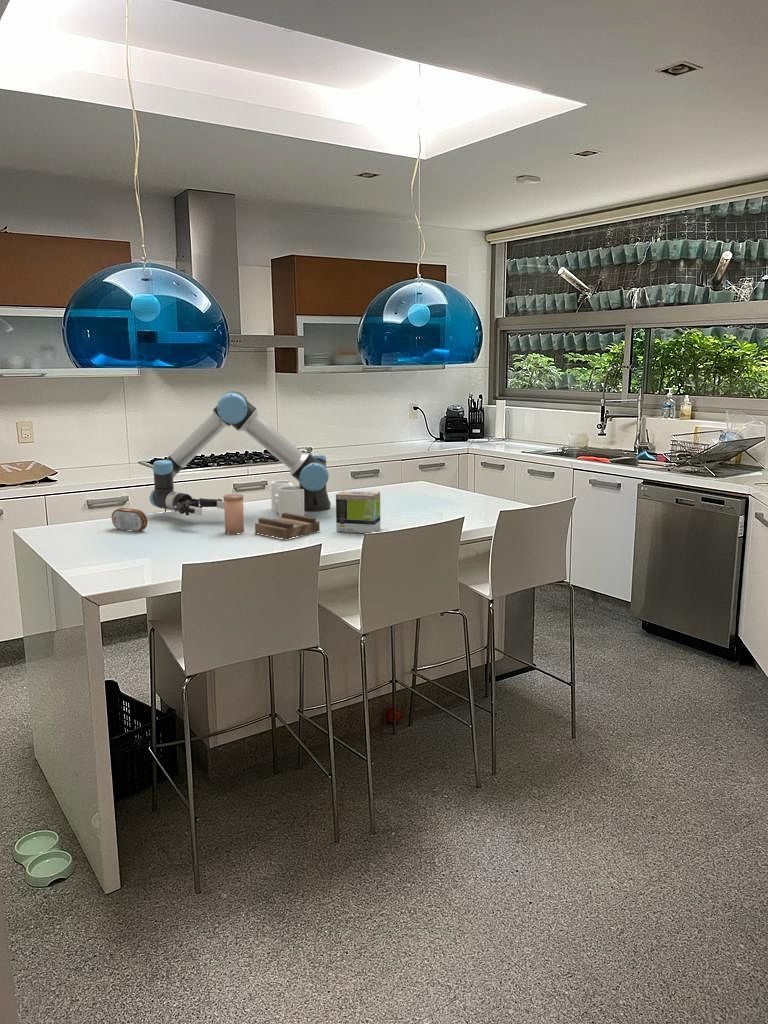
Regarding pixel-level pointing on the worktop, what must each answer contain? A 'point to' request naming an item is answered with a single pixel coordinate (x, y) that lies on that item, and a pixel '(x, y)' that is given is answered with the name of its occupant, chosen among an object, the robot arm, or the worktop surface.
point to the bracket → (287, 498)
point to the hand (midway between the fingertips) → (215, 509)
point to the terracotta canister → (233, 513)
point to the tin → (129, 519)
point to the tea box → (358, 511)
